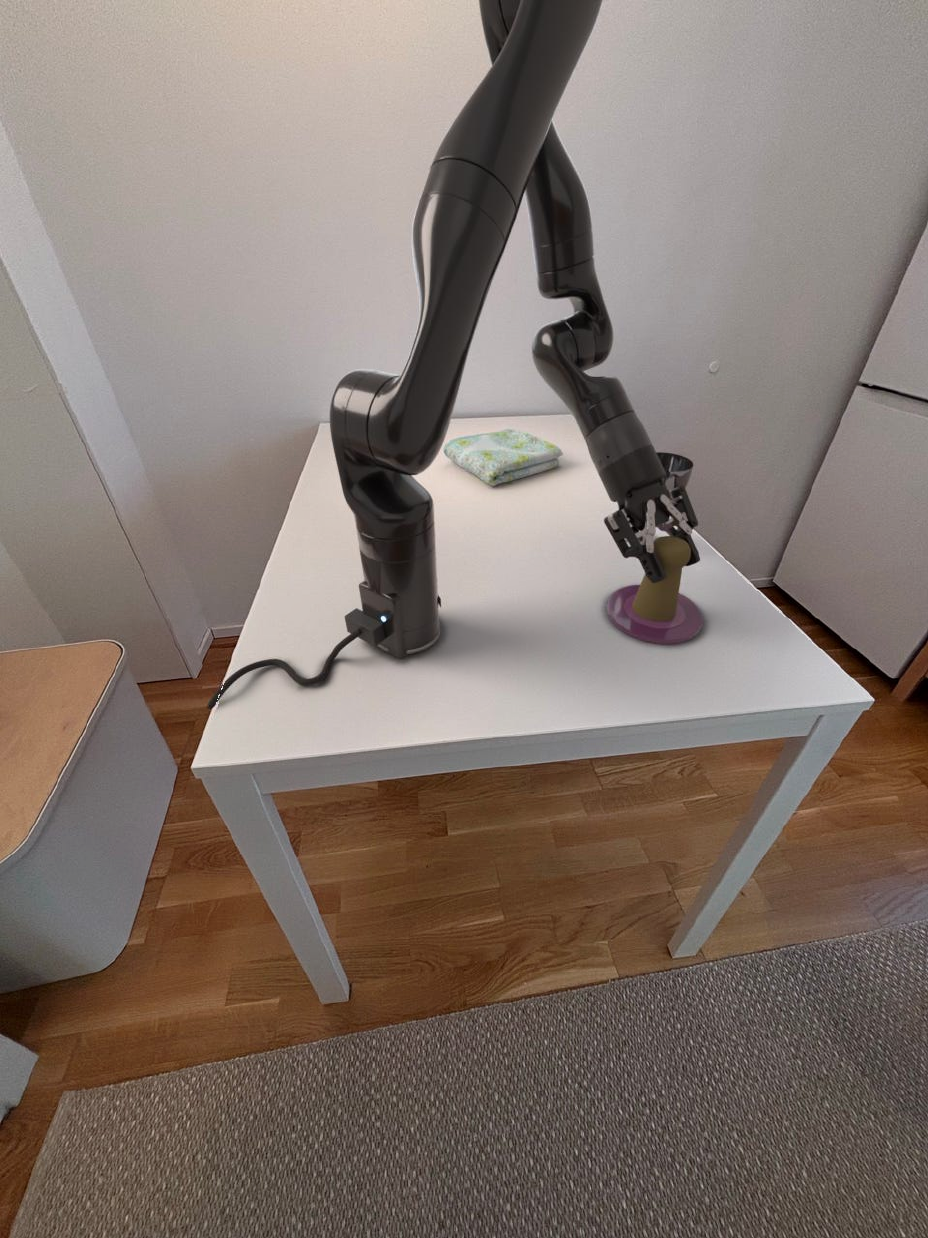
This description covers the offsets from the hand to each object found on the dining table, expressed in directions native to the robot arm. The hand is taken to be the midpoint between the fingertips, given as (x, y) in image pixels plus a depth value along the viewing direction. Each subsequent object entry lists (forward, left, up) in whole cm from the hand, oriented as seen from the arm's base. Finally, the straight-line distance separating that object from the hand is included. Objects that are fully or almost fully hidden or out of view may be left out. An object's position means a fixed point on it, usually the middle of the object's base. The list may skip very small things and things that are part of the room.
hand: (676, 571), depth 68 cm
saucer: (+1, +2, -8) cm, 8 cm away
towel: (+35, +50, -8) cm, 61 cm away
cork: (+1, +2, -7) cm, 8 cm away
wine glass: (+19, +10, -8) cm, 22 cm away
